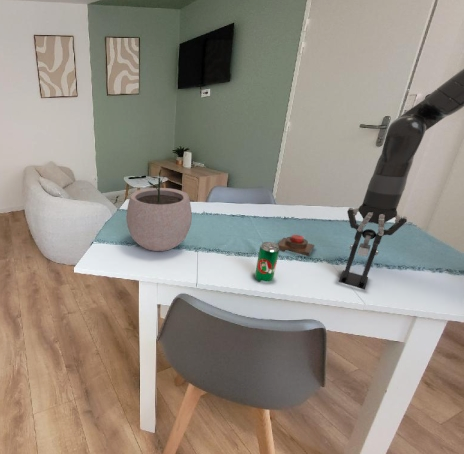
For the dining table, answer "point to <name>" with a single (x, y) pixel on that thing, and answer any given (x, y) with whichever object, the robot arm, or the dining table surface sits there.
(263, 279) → the soda can
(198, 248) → the dining table surface
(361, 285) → the lever bracket
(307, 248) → the button housing
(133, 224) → the plant pot
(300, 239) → the button
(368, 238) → the press lever
